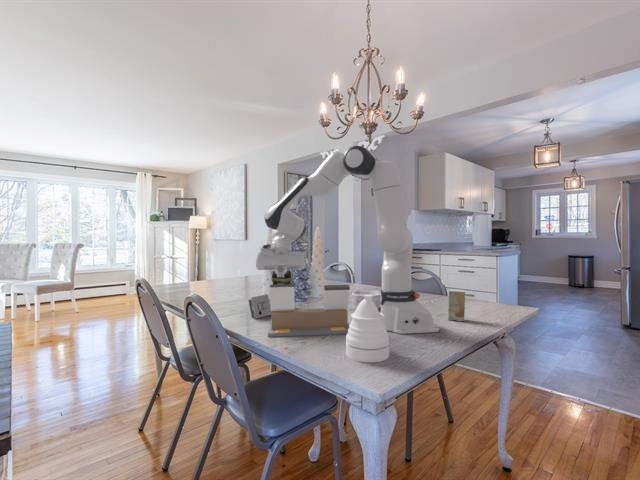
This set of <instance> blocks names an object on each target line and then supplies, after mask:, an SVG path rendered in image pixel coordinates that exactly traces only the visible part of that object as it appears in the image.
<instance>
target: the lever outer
mask: <svg viewBox="0 0 640 480" xmlns="http://www.w3.org/2000/svg"><path fill="white" fill-rule="evenodd" d="M269 289H270V290H269V291H270V293H269V294H270V295H269V296H270V297H269V302H270V310H271V311H272V310H295V309H296V308H295V307H296V305H295V283H291V284H275V285H273V284H269Z"/></svg>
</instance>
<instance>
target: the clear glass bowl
mask: <svg viewBox="0 0 640 480" xmlns="http://www.w3.org/2000/svg"><path fill="white" fill-rule="evenodd" d="M380 293H381V290H380V291H379V290H366V289H365V290H358V291H357V290H355V291H353V292H351V303H352V304H353V305H354V306H355V309H356V308H357V307H358V305H359V304H360V302H361V301H362V300H363V299H365V298H364V295H373V298H372V301H373V302H374V304H375V305H376V307H377V309H378V310H379V309H380V308H381V302H380Z"/></svg>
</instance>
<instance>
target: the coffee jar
mask: <svg viewBox="0 0 640 480" xmlns="http://www.w3.org/2000/svg"><path fill="white" fill-rule="evenodd" d="M278 271H279V272H283V270H278ZM292 280H293V276H292V272H291V270H287V272H286V273H285V274H284V277H277V274H276V273H275V270H272V272H271V281H272V285H275V284H292Z"/></svg>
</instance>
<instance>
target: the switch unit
mask: <svg viewBox="0 0 640 480" xmlns="http://www.w3.org/2000/svg"><path fill="white" fill-rule="evenodd" d="M271 311H272V313H271V315H270V317H271V322H270V323H269V326H268V333H267V337H268V338H274V337H276V338H278V337H299V336H301V337H302V336H303V337H305V336H321V335H323V336H325V335H326V336H327V335H347V333H348V329H349V325H350V323H348V309H334V310H324V307H323V308H299V309H297V308H295V310H271Z"/></svg>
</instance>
